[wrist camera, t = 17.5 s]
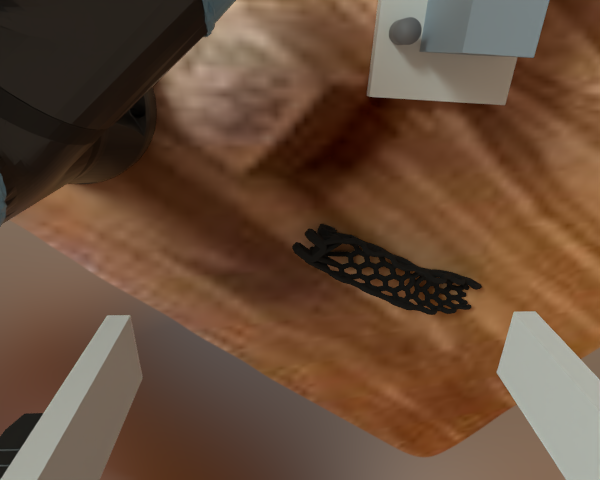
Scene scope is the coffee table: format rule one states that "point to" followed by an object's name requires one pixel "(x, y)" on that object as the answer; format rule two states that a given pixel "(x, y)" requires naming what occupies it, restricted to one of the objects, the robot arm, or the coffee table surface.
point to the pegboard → (429, 63)
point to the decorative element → (331, 239)
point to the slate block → (483, 27)
